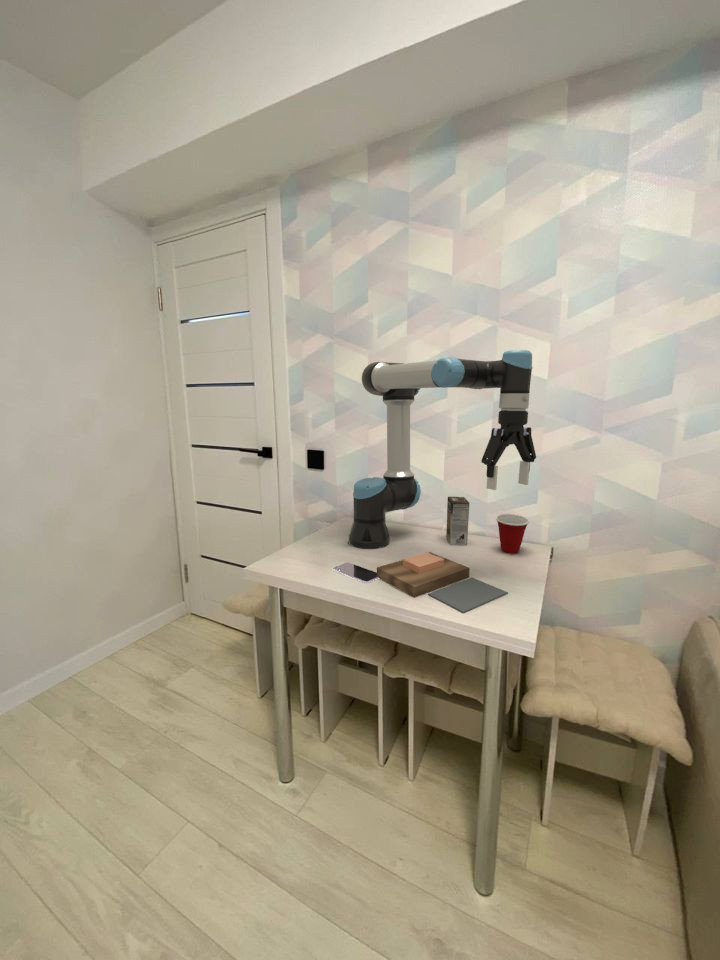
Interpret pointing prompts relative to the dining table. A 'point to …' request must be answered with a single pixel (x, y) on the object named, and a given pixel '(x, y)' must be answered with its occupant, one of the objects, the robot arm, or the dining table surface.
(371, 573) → the mobile phone
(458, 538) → the coffee box
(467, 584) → the rubber mat
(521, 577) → the dining table surface
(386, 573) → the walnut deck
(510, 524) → the plastic cup
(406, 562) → the coral block
